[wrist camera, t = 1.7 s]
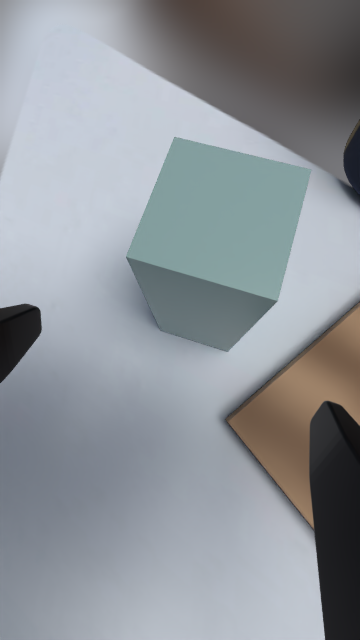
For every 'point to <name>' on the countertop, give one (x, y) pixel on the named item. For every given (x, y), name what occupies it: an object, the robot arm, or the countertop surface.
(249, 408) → the stand
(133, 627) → the countertop surface
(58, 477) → the countertop surface
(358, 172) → the canister
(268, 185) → the tall sage green block
